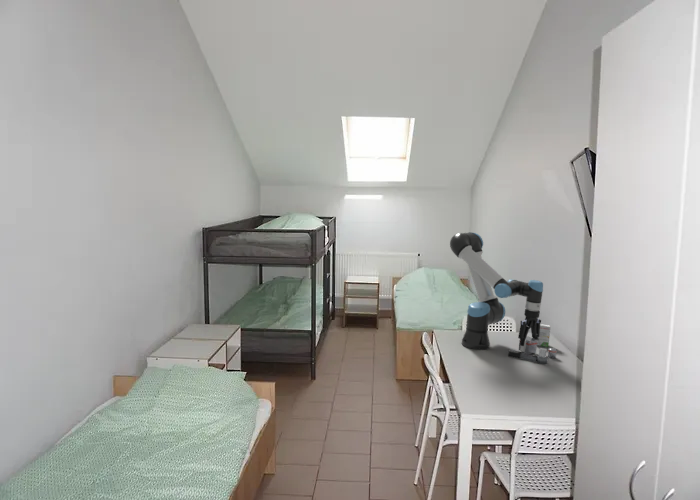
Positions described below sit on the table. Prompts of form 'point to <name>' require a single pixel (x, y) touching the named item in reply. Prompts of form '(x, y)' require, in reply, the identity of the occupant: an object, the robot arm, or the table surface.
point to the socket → (530, 345)
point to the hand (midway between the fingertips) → (527, 350)
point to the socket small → (552, 353)
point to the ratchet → (531, 356)
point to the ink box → (544, 335)
